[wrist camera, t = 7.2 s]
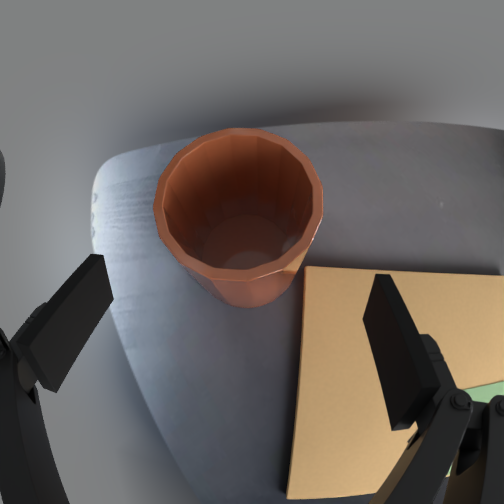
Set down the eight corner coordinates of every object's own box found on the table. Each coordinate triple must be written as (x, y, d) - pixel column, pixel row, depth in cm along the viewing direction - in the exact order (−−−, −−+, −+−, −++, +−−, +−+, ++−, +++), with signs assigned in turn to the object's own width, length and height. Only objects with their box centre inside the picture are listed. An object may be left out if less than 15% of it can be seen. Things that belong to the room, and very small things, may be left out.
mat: (285, 495, 19) (286, 499, 18) (304, 267, 24) (305, 265, 23) (488, 459, 18) (492, 461, 17) (502, 277, 23) (506, 275, 22)
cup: (192, 303, 24) (140, 273, 13) (204, 209, 26) (170, 127, 15) (294, 311, 23) (323, 286, 13) (298, 215, 25) (320, 132, 15)
